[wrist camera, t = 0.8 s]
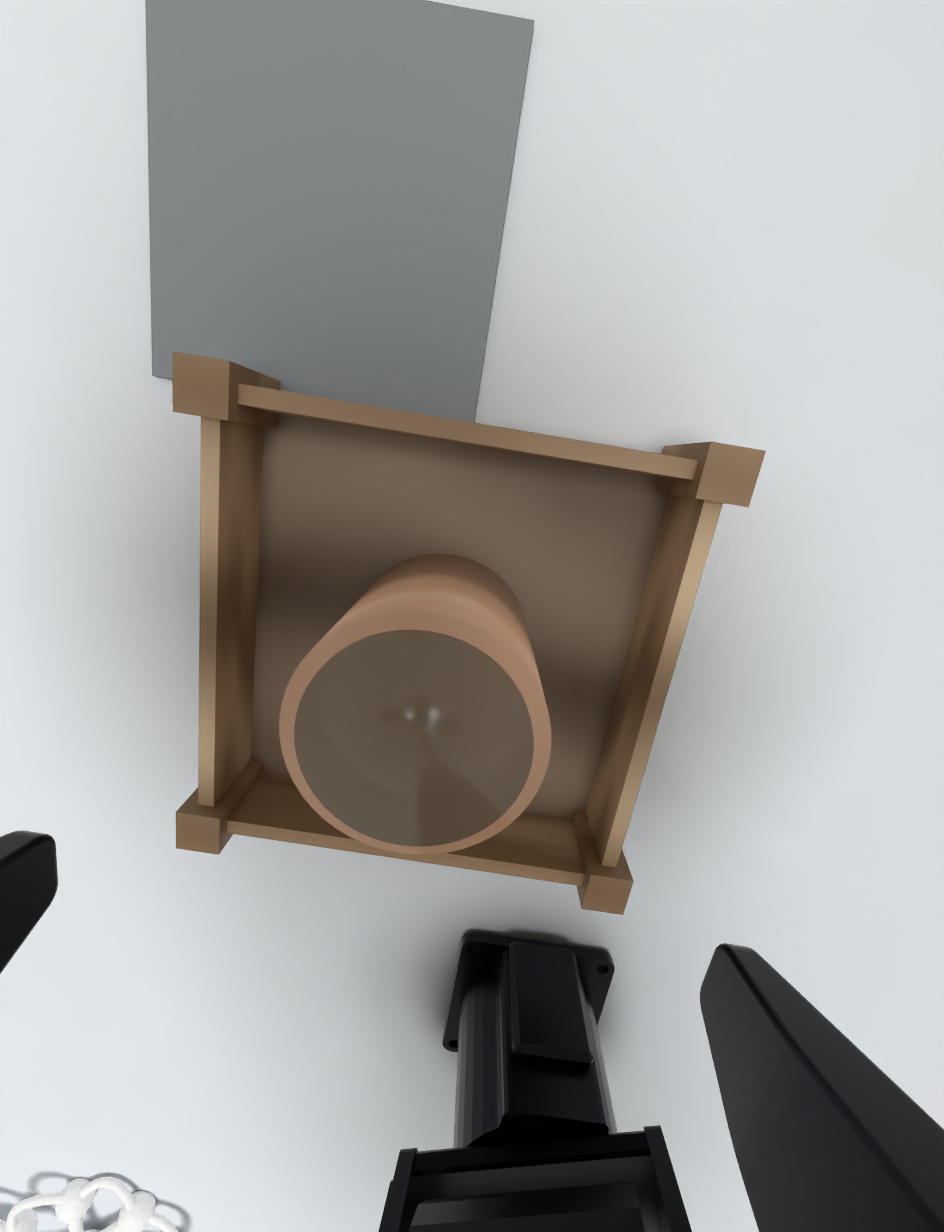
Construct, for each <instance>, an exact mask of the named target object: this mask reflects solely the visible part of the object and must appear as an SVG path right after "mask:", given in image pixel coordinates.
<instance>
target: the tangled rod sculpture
mask: <svg viewBox="0 0 944 1232" xmlns="http://www.w3.org/2000/svg"><path fill="white" fill-rule="evenodd" d="M99 1188H108V1189H111V1190H112V1191H113V1192H114V1193H115V1194H116V1195H117V1196H118V1197H120V1198H121V1200H122V1201H123V1203H124V1205H123V1207H122V1209H121V1211H120V1213H119V1218H118V1221H116V1222H115V1223H113V1224H111V1225H110V1226H108V1227H106V1228H105V1229H103V1230H101V1231H99V1230H95V1229H93V1230H86V1231H84V1229H83V1220H82V1216H83V1215H84V1214H85V1213H86V1211H87V1210H88V1209H89V1207H90V1206H91V1204H92V1202H93V1200H94V1196H95V1192H96V1189H99ZM52 1204H56V1208H55V1212H56V1217H57V1219H58V1220H59V1221H60V1222H61V1223H64V1224H68V1228H69V1232H142V1231H143V1230H144V1229H145V1228H146V1227H147V1226H148V1224H149V1223H150V1224H152V1225H154V1226H157V1227H159V1228H160V1229H161V1230H162V1231H163V1232H178V1231H177V1229H176V1227H175V1226H174V1224H173V1223H172V1222H171V1221H170V1220H168V1219H167V1218H166V1217H165V1216H164V1215H162V1214H159V1213H157V1212H154V1211H155V1207H156V1199H155V1197H154V1196H153V1195H152V1194H151V1193H149V1192H146V1191H137V1192H134V1193H133V1194H131V1192H130V1191H129V1189H128V1187H127V1186H126V1185H125V1184H124V1183H123V1182H121V1181H119V1180H117V1179H115V1178H114V1177H100V1178H98V1179H95V1180H93V1181H90V1180H88V1179H86V1178H75V1179H74V1180H72V1181H71V1182H69V1183H68V1184H67V1185H66V1187H65V1188H64V1189H63V1191H62V1192H57V1193H47V1194H38V1195H35V1196H33V1197H30V1198H27V1199H24V1200H21V1201H19V1202H18V1203H17V1204H16V1205H15V1206H14V1207H13V1208H12V1209H11V1210H10V1212H9V1214H8V1217H7V1220H6V1221H5V1222H4V1221H3V1220H1V1219H0V1232H36V1230H37V1224H38V1215H37V1213H36V1211H35V1210H33V1209H32V1208H33V1207H38V1206H42V1205H52Z"/></svg>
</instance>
